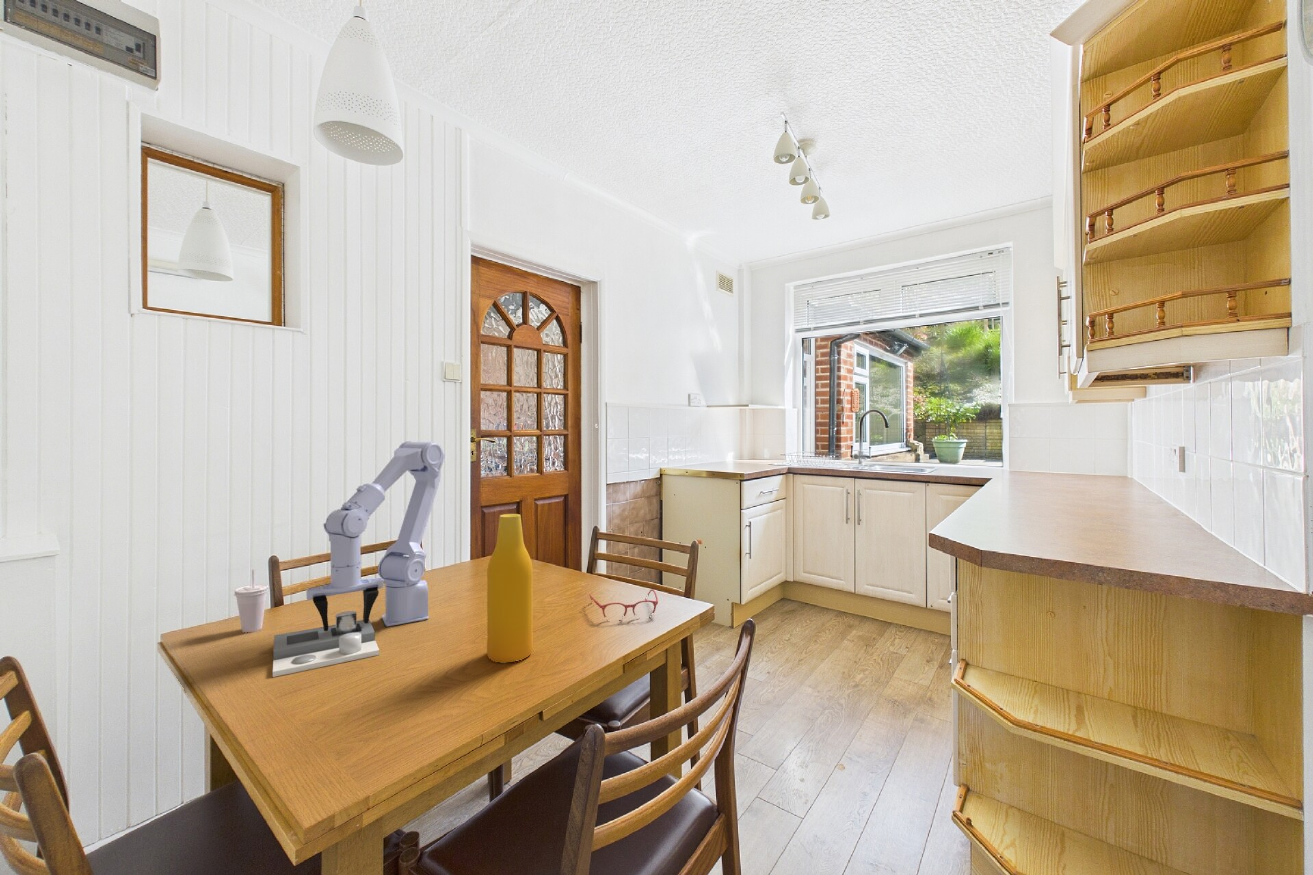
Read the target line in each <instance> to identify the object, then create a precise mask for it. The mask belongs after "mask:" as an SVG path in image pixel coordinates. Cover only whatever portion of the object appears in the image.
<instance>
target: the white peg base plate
mask: <svg viewBox="0 0 1313 875" xmlns="http://www.w3.org/2000/svg"><path fill="white" fill-rule="evenodd" d="M376 656H380V648H379V645H378V644H377V640H375V641H371V642H366V643H361V633H348V634H344V635H342V636H340V637H339V648H335V649H330V650H325V651H320V652H315V653H309V654H304V655H299V656H294V657H289V658H284V659H279V660H274V659H273V662H272V677H273V678H275V677H279V676H284V675H286V676H287V675H289V674H294V673H299V672H304V671H309V670H314V669H319V668H323V667H327V666H332V665H338V664H342V663H346V662H351V661H357V660H361V659H366V658H371V657H376Z"/></svg>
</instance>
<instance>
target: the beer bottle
mask: <svg viewBox="0 0 1313 875" xmlns="http://www.w3.org/2000/svg"><path fill="white" fill-rule="evenodd" d="M523 534H524V533H523V525H522V517H521V514H518V513H504V514H500V515H499V518H498V529H497V536H496V543H495V548H494V551H493V552H492V554H491V557H490V559H489V561H488V564H487V568H486V569H487V572H486V585H487V586H486V594H487V595H486V600H487V601H486V603H487V604H486V607H487V608H486V612H487V615H486V617H487V621H486V624H487V625H486V626H487V627H486V628H487V634H486V639H487V640H486V651H487V652H486V653H487V657H488V659H489V660H490V659H491V660H490V661H492V660H493V661H492V662H494V661H496V662H495V663H497V662H513V661H516V660H520V659H523V658H526V657H527V656H529V655H530V654H531V655H532V653H533V649H534V635H533V634H534V633H533V632H534V627H533V625H534V620H533V618H534V617H533V616H534V612H533V611H534V608H533V607H534V604H533V603H534V602H533V601H534V600H533V599H534V595H533V594H534V593H533V592H534V591H533V588H534V586H533V584H534V581H533V580H534V579H533V578H534V576H533V575H534V572H533V571H534V569H533V568H534V567H533V563H532V562H533V561H532V558H531V557H530V554H529V552H528V550H527V548H526V545H525V543H524V535H523ZM531 652H532V653H531ZM531 655H530V656H531ZM530 656H529V657H530ZM526 659H527V658H526Z"/></svg>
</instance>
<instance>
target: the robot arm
mask: <svg viewBox="0 0 1313 875" xmlns="http://www.w3.org/2000/svg"><path fill="white" fill-rule="evenodd" d="M445 456H446V455H445V453H444V450H443V448H442V447H441V445H440V444H439V443H438V442H436V441H411V440H408V441H403V442H402V443H401V444H400V445H399V446H398V448H396V449H395V450H394V452H393V457H392V458H391V459H390V460H389V462H388V463H386V465H385V466H384V468H383V469H382V470H381V471H380V473H379V474H378V475H377V476H376V478H375V479H374V480H373V481H372V482H371V483H363V484H362V485H359V486H358V487H357V488H356V489H355V490H356V492H355V493H354V494H352V496H351V497H350V498H349V499H348V500H347V501H346V502H344V503H343V504H342V505H341V508H340V509H339V508H337V509H336V510H335V509H334V510H333V511H332V512H330V514H329V515H328V516H327V518H326V519H325V523H323V529H324V532H325V533H326V534H327V535H328V542H330V583H328V584H325V585H320V586H316V587H312V588H311V587H310V588H306V591H305V592H306V595H305V596H306V600H307V601H310V600H312V601H313V604H314V606H315V607H316V610H317V611H318V613H319V615H320V618H321V621H322V627H323V629H324V631H328V626H329V618H328V610H329V609H328V608H329V607H328V606H329V604H328V603H329V602H328V597H331V596H336V595H343V594H344V595H345V594H348V593H355V592H362V596H363V611H362V612H363V613H362V618H363V619H362V620H363V621H364V623H368V621H369V620H370V615H371V612H372V610H373V606H374V604H375V602H376V600H377V598H378V596H379V593H380V592H379V589H384V587H385V591H384V592H385V593H384V594H385V598H384V599H385V600H384V602H385V604H384V606H385V610H384V611H385V612H384V613H385V614H382V615H381V619H382V621H383V623H384V625H385V627H392V626H397V625H402V624H403V625H404V624H409V623H414V622H420V621H425V620H429V618H430V617H429V587H428V583H427V581H426V580H425V579H422V578H423V576H424V574H425V570H426V563H425V562H426V558H427V553H426V552H425V551H424V549H423V548H422V547H421V545H422V541H423V537H424V535H425V530H426V527H427V524H428V522H429V518H430V514H431V511H432V508H433V504H434V502H435V499H436V494H437V491H438V488H439V485H440V482H441V474H442V473H441V471H442V466H443V463H444V462H445V461H444V460H445ZM406 472H409V474H411V476H413V478H414V479H415V483H414V487H413V489H412V493H411V496H410V499H409V502H408V505H407V509H406V512H405V516H404V518H403V521H402V524H401V527H400V531H399V533H398V537H397V540H396V542H395V541H394V543H393V544H391V545H390V546H388V547H387V548H386V552H385V554H384V556H382V558H381V559H380V561H379V563H378V565H377V573H378V576H379V577H378V578H366V579H364V578H363V579H362V578H361V576H362V575H361V574H362V569H361V568H362V567H361V565H362V564H361V563H362V562H361V561H362V560H361V558H362V557H361V554H362V552H361V534H362V533H364V532H365V531H366V529H367V525H368V521H369V520H370V517H371V515H372V514H373V513H374V512H375V511H376V510H377V509H378V508H379V507H380V505H382V503H383V502H384V501H385V500H386V495H385V494H386V492H387V490H389V488H391V487H392V486H393V485H394V484H395V483H396V482H397V481H398V480H399V479H400V478H401V477H402V476H403V475H404V474H405V473H406ZM384 585H385V586H384Z"/></svg>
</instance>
